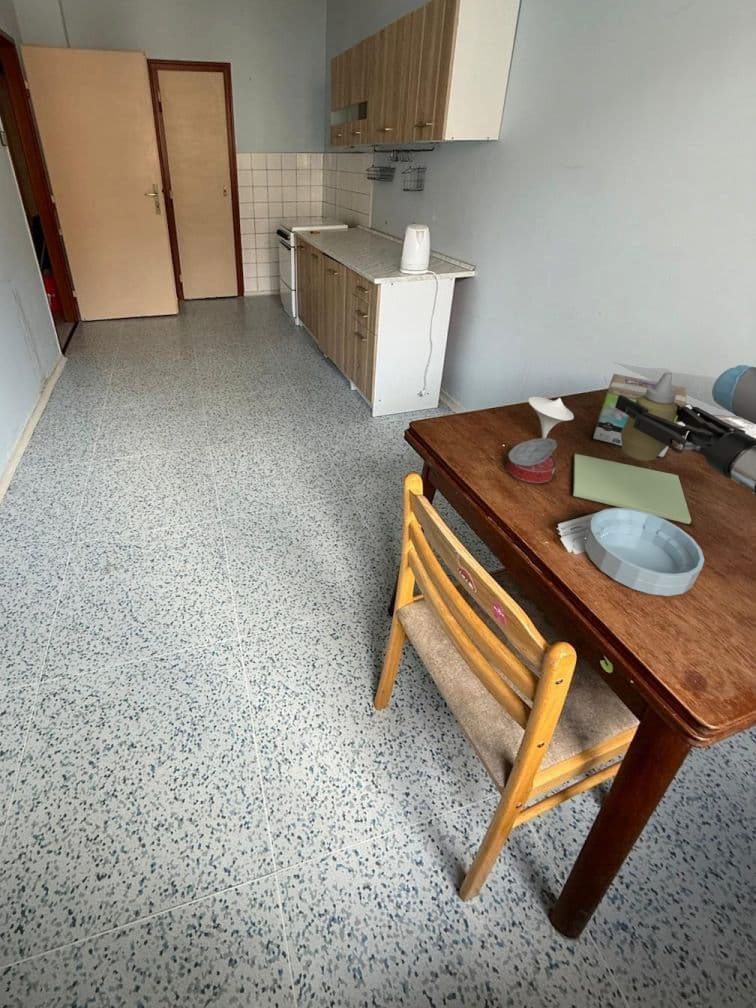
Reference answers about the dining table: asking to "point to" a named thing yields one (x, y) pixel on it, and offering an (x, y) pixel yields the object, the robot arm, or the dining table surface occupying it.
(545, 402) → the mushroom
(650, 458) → the squeeze bottle
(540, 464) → the canned food
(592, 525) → the bowl
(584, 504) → the dining table surface
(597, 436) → the tea box
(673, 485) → the mat
